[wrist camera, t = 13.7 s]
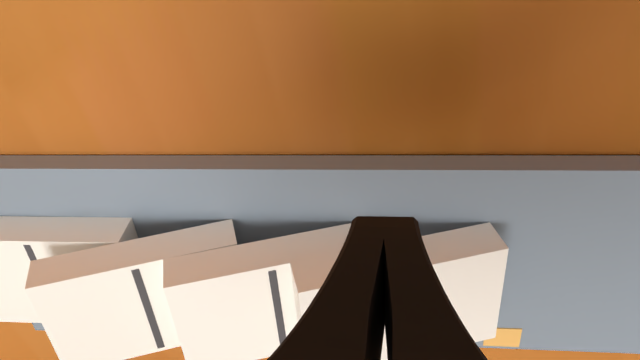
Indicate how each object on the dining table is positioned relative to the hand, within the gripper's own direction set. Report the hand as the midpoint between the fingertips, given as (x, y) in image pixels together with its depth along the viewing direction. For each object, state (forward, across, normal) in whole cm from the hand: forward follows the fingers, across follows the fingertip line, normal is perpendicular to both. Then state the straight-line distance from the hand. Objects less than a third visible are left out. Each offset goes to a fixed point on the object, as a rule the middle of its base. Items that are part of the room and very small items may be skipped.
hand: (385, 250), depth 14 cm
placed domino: (+8, -4, +9) cm, 13 cm away
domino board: (+10, +3, +9) cm, 14 cm away
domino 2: (+8, +1, +9) cm, 12 cm away
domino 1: (+8, +6, +9) cm, 14 cm away
